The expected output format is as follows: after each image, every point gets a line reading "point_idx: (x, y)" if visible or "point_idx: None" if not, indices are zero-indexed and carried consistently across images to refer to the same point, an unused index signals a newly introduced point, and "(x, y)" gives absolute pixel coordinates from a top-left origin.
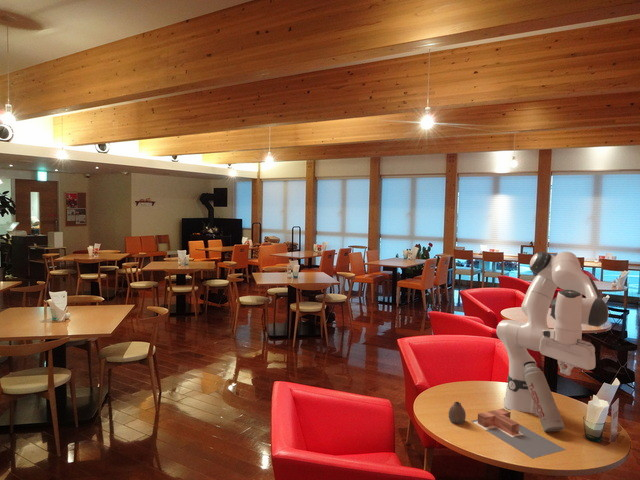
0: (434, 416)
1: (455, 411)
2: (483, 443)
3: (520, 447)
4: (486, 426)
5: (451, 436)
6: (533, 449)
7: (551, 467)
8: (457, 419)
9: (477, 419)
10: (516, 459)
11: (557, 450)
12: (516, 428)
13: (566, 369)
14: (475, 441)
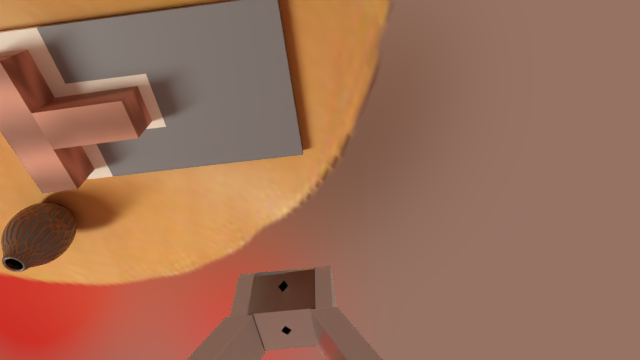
0: None
1: (51, 260)
2: (189, 211)
3: (237, 145)
4: (90, 163)
5: (146, 260)
6: (255, 115)
7: (345, 121)
8: (71, 241)
9: None
10: (284, 182)
11: (276, 37)
12: (134, 106)
13: (328, 356)
14: (176, 223)
